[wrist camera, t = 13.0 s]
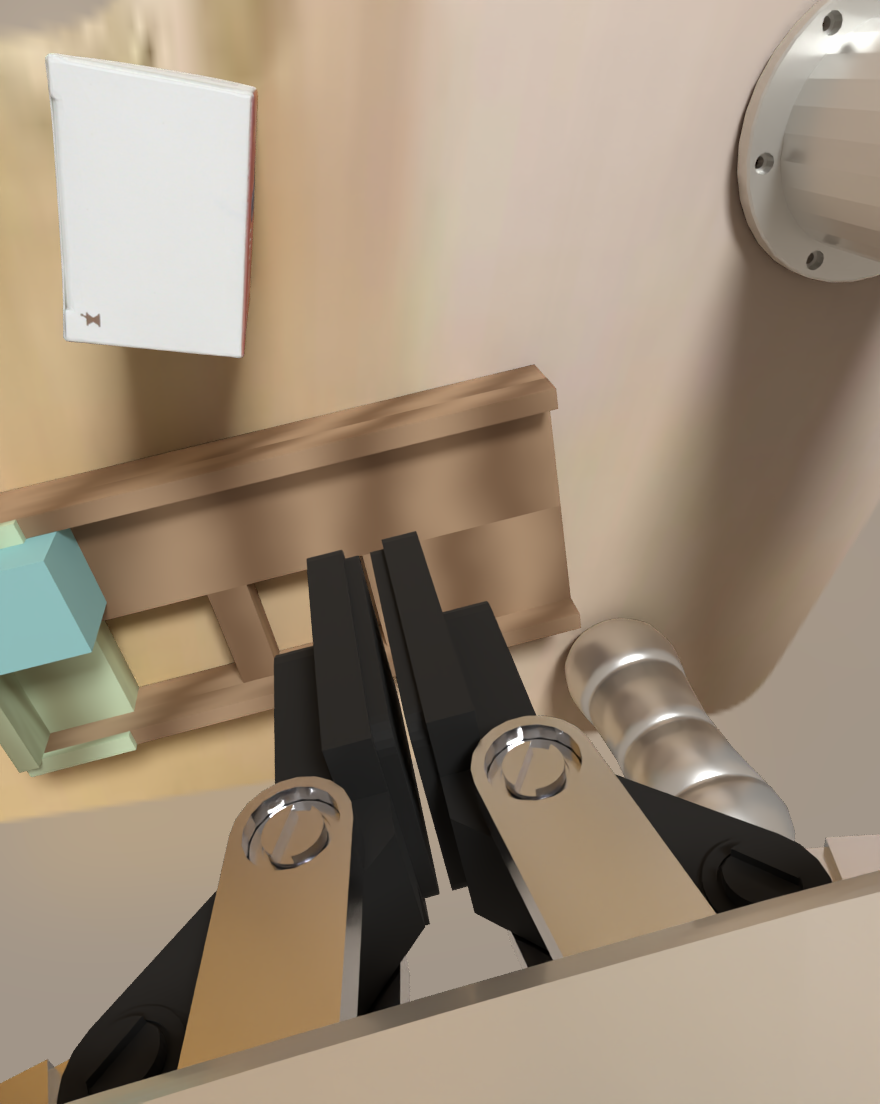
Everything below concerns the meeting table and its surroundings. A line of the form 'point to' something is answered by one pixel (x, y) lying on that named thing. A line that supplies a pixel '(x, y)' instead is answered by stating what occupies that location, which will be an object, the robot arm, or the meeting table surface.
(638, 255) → the meeting table surface
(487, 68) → the meeting table surface
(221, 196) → the small box
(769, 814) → the plastic bottle
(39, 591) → the block
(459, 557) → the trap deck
